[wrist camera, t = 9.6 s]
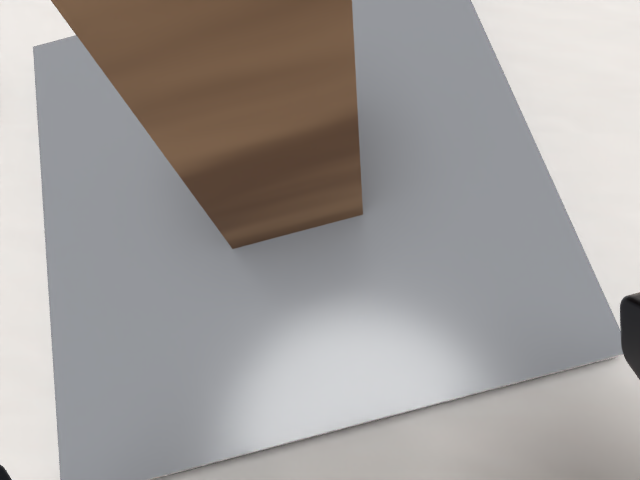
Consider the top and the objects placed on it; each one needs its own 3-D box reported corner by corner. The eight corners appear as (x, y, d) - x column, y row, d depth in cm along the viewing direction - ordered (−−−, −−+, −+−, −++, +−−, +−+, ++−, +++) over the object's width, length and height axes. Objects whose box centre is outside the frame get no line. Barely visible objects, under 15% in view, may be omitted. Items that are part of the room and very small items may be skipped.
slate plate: (615, 357, 16) (629, 352, 15) (80, 498, 16) (62, 501, 15) (439, -41, 22) (442, -62, 21) (47, 63, 22) (33, 46, 21)
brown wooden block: (363, 214, 17) (345, -134, 7) (232, 248, 17) (17, -47, 7) (330, 104, 19) (274, -315, 8) (210, 136, 19) (6, -244, 8)
